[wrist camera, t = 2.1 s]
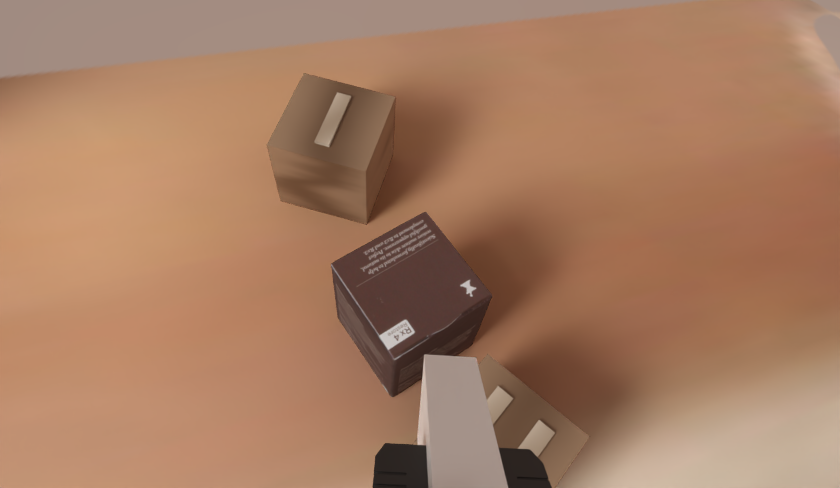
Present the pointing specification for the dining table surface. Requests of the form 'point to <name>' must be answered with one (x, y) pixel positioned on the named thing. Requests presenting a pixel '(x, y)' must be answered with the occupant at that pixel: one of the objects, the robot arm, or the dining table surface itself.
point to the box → (408, 300)
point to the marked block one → (333, 147)
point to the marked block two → (529, 421)
